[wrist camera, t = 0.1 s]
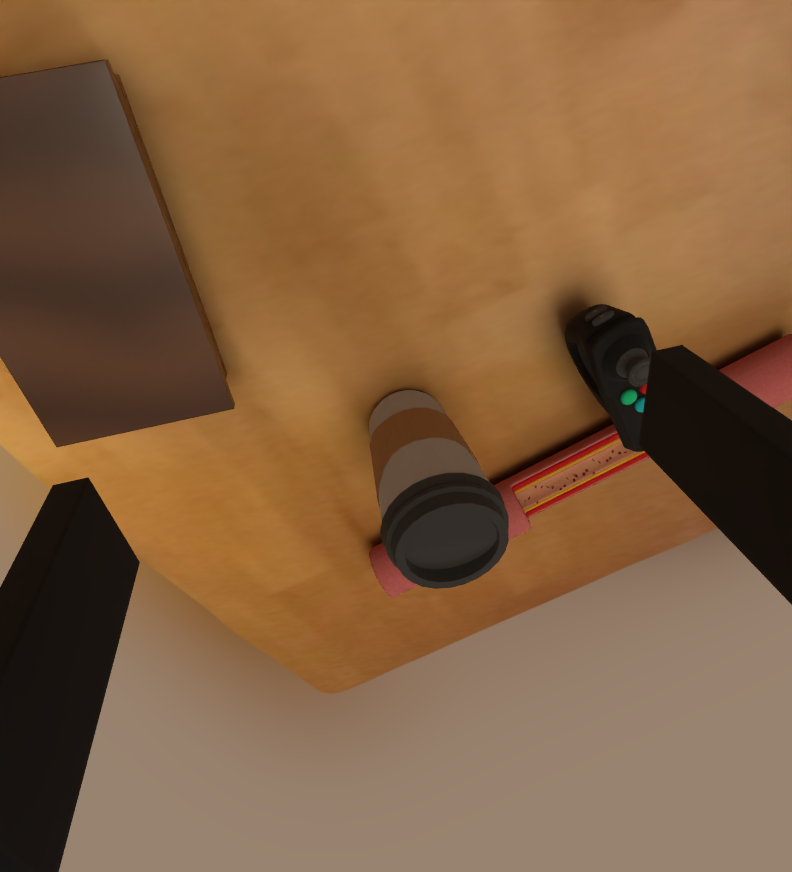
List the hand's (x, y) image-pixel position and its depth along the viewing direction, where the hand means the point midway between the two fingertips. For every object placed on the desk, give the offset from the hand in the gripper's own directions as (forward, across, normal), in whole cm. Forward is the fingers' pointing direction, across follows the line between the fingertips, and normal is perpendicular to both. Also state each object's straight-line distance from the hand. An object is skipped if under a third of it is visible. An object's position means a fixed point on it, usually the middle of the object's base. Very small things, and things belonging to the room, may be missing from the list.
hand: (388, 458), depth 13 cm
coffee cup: (+28, +4, -18) cm, 34 cm away
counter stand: (+28, -14, -1) cm, 31 cm away
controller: (+28, +20, -15) cm, 37 cm away
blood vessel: (+28, +19, -26) cm, 43 cm away
